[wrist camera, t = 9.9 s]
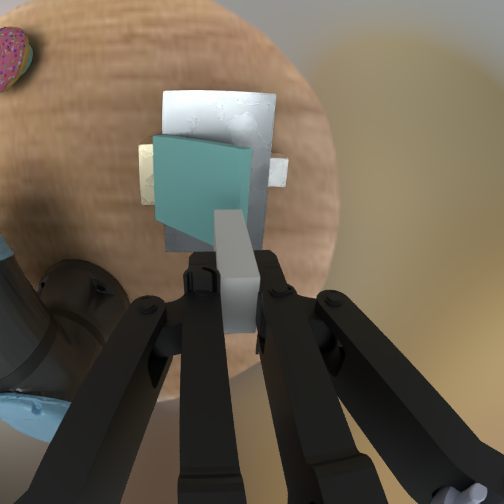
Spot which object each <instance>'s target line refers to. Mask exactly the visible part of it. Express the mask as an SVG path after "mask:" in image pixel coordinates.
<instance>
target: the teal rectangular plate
mask: <svg viewBox="0 0 504 504" xmlns="http://www.w3.org/2000/svg"><path fill="white" fill-rule="evenodd" d="M251 157H252V148H249V147H243V146H238V145H232V144H226V143H220V142H214V141H207V140H200V139H194V138H186V137H179V136H171V135H155V136H153V177H154V202H155V220H157V221H159V222H162V223H164V224H166V225H168V226H170V227H173V228H175V229H177V230H179V231H182V232H184V233H186V234H188V235H190V236H193V237H195V238H197V239H199V240H202V241H204V242H206V243H208V244H210V245H213V246H214V210H242V212H243V216H244V219H245V223H246V227H247V213H248V199H249V185H250V171H251Z"/></svg>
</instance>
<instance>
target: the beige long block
mask: <svg viewBox="0 0 504 504" xmlns="http://www.w3.org/2000/svg"><path fill="white" fill-rule="evenodd" d="M287 168H288V158H287V157H285V156H284V155H283V154H282V153H271V158H270V169H269V180H268V186H275V187H286V178H287ZM139 171H140V192H141V205H155V202H154V177H153V136H149V137H148V138H147V139H145V140H144V141H143V142H142V143H140V144H139Z"/></svg>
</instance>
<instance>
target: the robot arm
mask: <svg viewBox="0 0 504 504" xmlns="http://www.w3.org/2000/svg"><path fill="white" fill-rule="evenodd" d="M13 254H14V251H13V250H12V249H10V248H9V246H8V245H7V243H6V241H5V240H4V238H3V236H2V235H1V233H0V418H1V419H2V420H3V421H4V422H6V423H7V424H8V425H10V426H11V427H13V428H15V429H16V430H18V431H20V432H22V433H24V434H26V435H28V436H31V437H33V438H36V439H39V440H42V441H46V442H50V444H49V446H48V449H47V451H46V453H45V455H44V457H43V459H42V461H41V463H40V465H39V467H38V469H37V471H36V474H35V476H34V478H33V480H32V482H31V485H30V487H29V489H28V490H27V491H26V492H25V493H24V494H23V495H22V496H21V497H20V498H19V499H18V500H17V501H16V502H15V503H14V504H120V502H121V499H122V496H123V493H124V490H125V487H126V484H127V481H128V478H129V475H130V473H131V469H132V467H133V464H134V461H135V458H136V455H137V452H138V450H139V447H140V444H141V442H142V439H143V436H144V433H145V431H146V428H147V425H148V422H149V420H150V417H151V414H152V412H153V409H154V406H155V403H156V401H157V398H158V396H159V393H160V390H161V388H162V385H163V383H164V380H165V377H166V375H167V372H168V370H169V367H170V365H171V362H172V359H173V355H177V354H181V373H180V475H179V478H178V504H247V503H246V496H245V489H244V484H243V478H242V475H241V473H240V467H239V460H238V452H237V445H236V438H235V429H234V421H233V413H232V404H231V395H230V387H229V377H228V368H227V358H226V348H225V338H224V334H230V333H254V332H255V330H256V326H257V330H258V335H257V344H256V354H258V352H259V355H260V360H261V365H262V369H263V375H264V380H265V385H266V389H267V394H268V399H269V404H270V409H271V413H272V419H273V424H274V428H275V433H276V438H277V443H278V447H279V452H280V457H281V462H282V466H283V471H284V475H285V480H286V485H287V490H288V504H388V501H387V499H386V496H385V493H384V490H383V487H382V485H381V482H380V480H379V477H378V474H377V471H376V469H375V466H374V464H373V462H372V460H371V458H370V457H369V456H367V455H366V454H363V453H360V452H359V451H358V450H357V448H356V445H355V442H354V440H353V437H352V434H351V432H350V429H349V426H348V423H347V421H346V418H345V415H344V413H343V410H342V407H341V405H340V402H339V399H340V400H341V402H342V403H343V404H344V406H345V407H346V409H347V410H348V412H349V413H350V414H351V416H352V417H353V419H354V420H355V421H356V423H357V424H358V426H359V427H360V428H361V430H362V431H363V433H364V434H365V435H366V437H367V438H368V440H369V441H370V442H371V444H372V445H373V447H374V448H375V449H376V451H377V452H378V454H379V455H380V456H381V458H382V459H383V460H384V462H385V463H386V465H387V466H388V468H389V469H390V470H391V472H392V473H393V474H394V476H395V477H396V479H397V480H398V481H399V483H400V484H401V485H402V487H403V488H404V489H405V490H406V491H407V493H408V494H409V495H410V496H411V497H412V498H413V499H414V500H415V501H416V502H417V503H418V504H504V455H503V454H502V453H500V452H498V451H497V450H495V449H493V448H491V447H490V446H488V445H486V444H485V443H483V442H481V441H480V440H479V439H478V437H477V436H476V435H475V434H474V433H473V432H472V430H471V429H470V428H469V427H468V426H467V425H466V424H465V422H464V421H463V420H462V419H461V418H460V417H459V415H458V414H457V413H456V412H455V411H454V410H453V409H452V408H451V406H450V405H449V404H448V403H447V402H446V401H445V400H444V399H443V397H441V395H440V394H439V393H438V392H437V391H436V390H435V389H434V387H433V386H432V385H431V384H430V383H429V382H428V381H427V380H426V379H425V378H424V376H423V375H422V374H421V373H420V372H419V371H418V370H417V369H416V368H415V367H414V366H413V365H412V364H411V362H410V361H409V360H408V359H407V358H406V357H405V356H404V355H403V354H402V353H401V352H400V351H399V350H398V348H396V346H395V345H394V344H393V343H392V342H391V341H390V340H389V339H388V338H387V337H386V336H385V335H384V334H383V333H382V332H381V331H380V330H379V329H378V327H377V326H376V325H375V324H374V323H373V322H372V321H371V320H370V319H369V318H368V317H367V316H366V315H365V314H364V313H363V312H362V311H361V310H360V309H359V308H358V307H357V306H356V305H355V304H354V303H353V302H352V301H351V300H350V299H349V298H348V297H347V296H346V295H345V294H343V293H341V292H338V291H335V290H324V291H322V292H320V293H319V294H318V295H317V298H316V299H315V298H308V297H304V296H300V295H298V294H297V292H296V290H295V289H294V287H292V286H291V285H289V284H287V282H286V280H285V277H284V274H283V272H282V269H281V268H280V264H279V262H278V259H277V257H276V255H275V254H274V253H273V252H271V251H270V250H253V249H252V245H251V241H250V238H249V234H248V230H247V227H246V223H245V219H244V216H243V212H242V210H214V251H205V252H193V254H192V255H191V256H190V257H189V267H188V269H187V270H186V271H185V272H184V275H183V279H184V292H185V294H184V295H183V296H182V297H181V298H179V299H178V300H175V301H172V302H168V303H165V302H164V300H162V299H161V298H160V297H157V296H151V295H147V296H142V297H139V298H137V299H135V300H134V301H133V302H132V303H131V304H130V306H129V302H128V299H127V296H126V294H125V292H124V290H123V288H122V287H121V286H120V284H119V283H118V282H117V281H116V280H115V279H114V278H113V277H112V276H111V275H110V274H109V273H108V272H106V271H105V270H103V269H102V268H100V267H98V266H96V265H94V264H91V263H88V262H85V261H80V260H66V261H61V262H59V263H57V264H55V265H53V266H52V267H51V268H50V269H49V270H48V271H47V272H46V274H45V275H44V277H43V278H42V280H41V282H40V284H39V287H38V291H37V293H36V292H35V290H34V289H33V287H32V285H31V284H30V282H29V281H28V279H27V277H26V276H25V274H24V272H23V271H22V269H21V267H20V266H19V264H18V262H17V261H16V259H15V257H14V255H13ZM337 396H338V397H339V399H338V397H337Z"/></svg>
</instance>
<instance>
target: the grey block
mask: <svg viewBox="0 0 504 504" xmlns="http://www.w3.org/2000/svg"><path fill="white" fill-rule="evenodd" d="M275 101H276V94H266V93H254V92H237V91H203V90H187V91H163V113H162V135H171V136H179V137H186V138H194V139H200V140H207V141H214V142H220V143H226V144H232V145H238V146H243V147H249V148H252V157H251V171H250V185H249V199H248V213H247V230H248V234H249V238H250V241H251V245H252V249H253V250H262V244H263V234H264V223H265V213H266V202H267V191H268V180H269V169H270V158H271V147H272V136H273V124H274V113H275ZM164 229H165V246H166V252H205V251H214V246H213V245H210V244H208V243H206V242H204V241H202V240H199V239H197V238H195V237H193V236H190V235H188V234H186V233H184V232H182V231H179V230H177V229H175V228H173V227H170V226H168V225H166V224H164Z"/></svg>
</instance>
